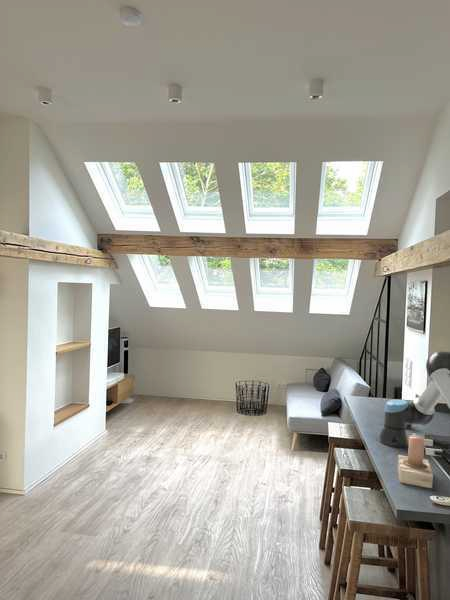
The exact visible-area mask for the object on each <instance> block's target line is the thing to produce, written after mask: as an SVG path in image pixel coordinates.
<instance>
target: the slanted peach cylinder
mask: <svg viewBox="0 0 450 600" xmlns="http://www.w3.org/2000/svg"><path fill="white" fill-rule="evenodd" d="M425 439H426V438H425V437H423V436H421V435H417V434H411V435H409V437H408V450H407V451H408V452H407V457H408V464H410V465H413V466H423V459H424V453H425V445H424V441H425Z"/></svg>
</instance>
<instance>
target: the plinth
mask: <svg viewBox="0 0 450 600" xmlns="http://www.w3.org/2000/svg"><path fill="white" fill-rule="evenodd" d="M397 472H398V481H399V483H403V484H407V485H413V486H418V487H423V488H427V489H429V488H430V489H433V482H434V474H433V471H432V468H431V465H430V462H429V460H428V459H424V458H423V466H413V465H410V464H408V455H407V456H406V455H402V454H401V455H399V454H398V457H397Z"/></svg>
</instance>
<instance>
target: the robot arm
mask: <svg viewBox="0 0 450 600" xmlns="http://www.w3.org/2000/svg"><path fill="white" fill-rule="evenodd" d="M425 368H426V370H425V371H426V373H427V375H428V376H427V377H429V379H430V382H429V384H428V385H427V386H426V388H425V390H424V391H423V392H422V393H421V395H420V396H417V397H415V398H414V399H413V401H412V402H408V401H407V400H404V399H390V400H387V401H386V403H385V405H384V417H383V428H382V429H381V432H380V434H379V437H378V438H379V439H378V441H379V442H380V443H381V444H384V445H386V446H390V447H395V448H406V447H409V437H408V434H407V428H406V424H412V425H413V426H414V425H415V426H416V425H420V426H425V425H430V424H431V423H433V422H434V421H435V415H436V410H435V406H436V405H437V404H438V403H439V402H440V400H441V399H442V398H443V400H444V402H445V403H446V405H447V407H448V409H449V410H450V351H442V350H440V351H439V350H438V351H435V352H432V353H431V354H430V355H428V357H427V360H426V364H425ZM424 446H425V455H427V456H433V457H442V458H445V460H450V441H446V440H441V439H437V438H432V439H428V438H427V439H426V438H425V441H424ZM426 446H430V447H432V448H430V447H426ZM434 447H437V448H440V449H437V448H434Z"/></svg>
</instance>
